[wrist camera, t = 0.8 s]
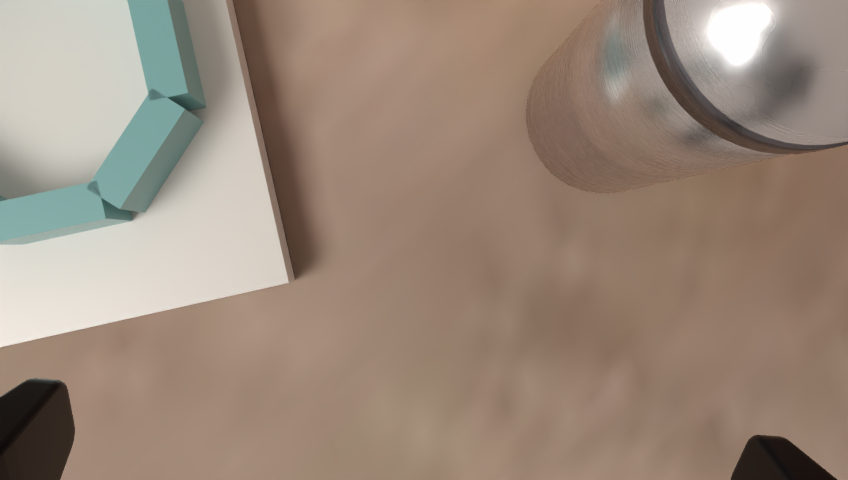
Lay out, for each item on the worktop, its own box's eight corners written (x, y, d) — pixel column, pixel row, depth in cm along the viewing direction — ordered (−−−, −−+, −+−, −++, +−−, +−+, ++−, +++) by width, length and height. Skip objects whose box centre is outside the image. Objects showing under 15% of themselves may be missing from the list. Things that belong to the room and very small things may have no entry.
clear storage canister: (703, 164, 23) (1045, 79, 11) (555, 217, 23) (746, 187, 11) (650, 14, 23) (938, -232, 11) (502, 65, 23) (634, -132, 11)
